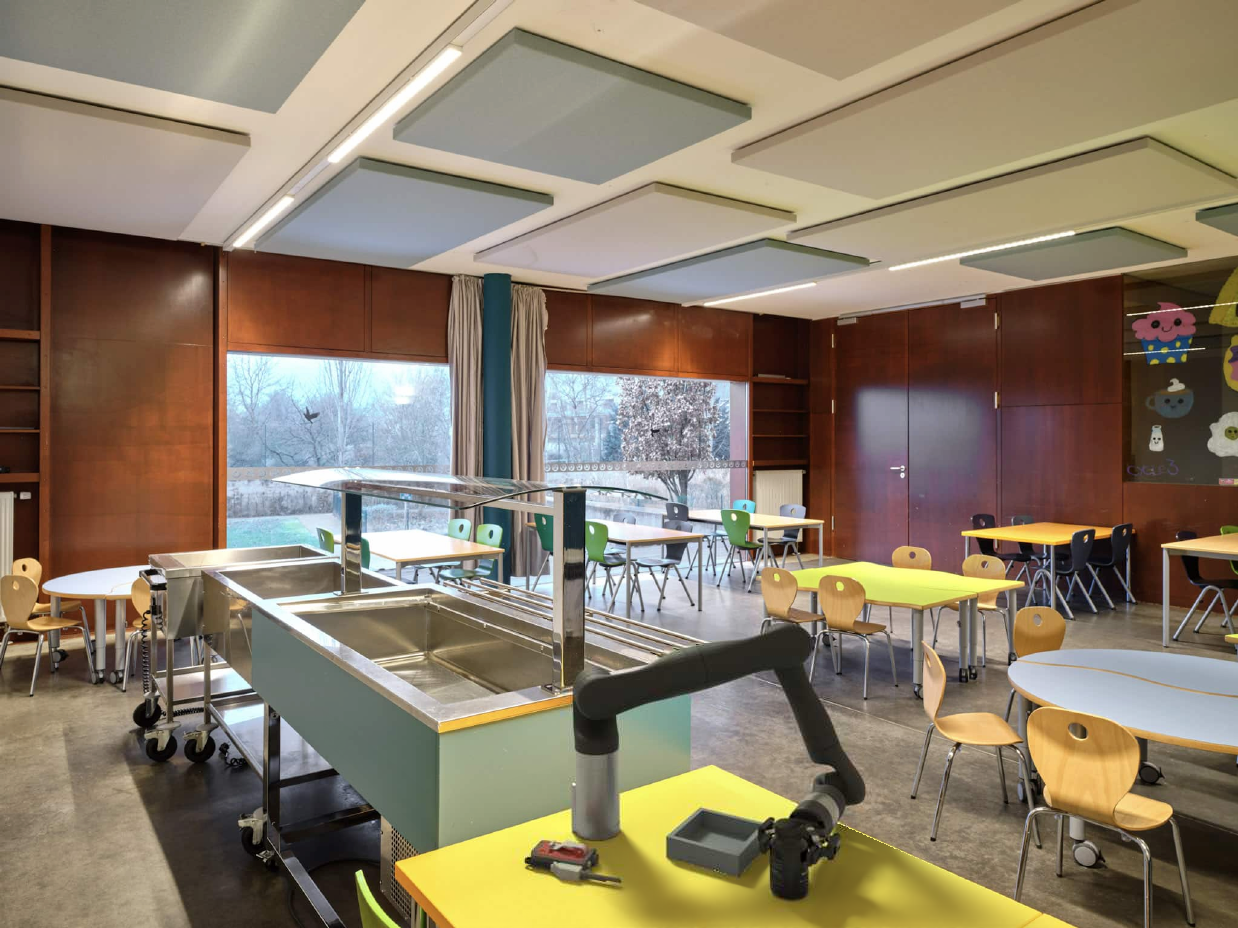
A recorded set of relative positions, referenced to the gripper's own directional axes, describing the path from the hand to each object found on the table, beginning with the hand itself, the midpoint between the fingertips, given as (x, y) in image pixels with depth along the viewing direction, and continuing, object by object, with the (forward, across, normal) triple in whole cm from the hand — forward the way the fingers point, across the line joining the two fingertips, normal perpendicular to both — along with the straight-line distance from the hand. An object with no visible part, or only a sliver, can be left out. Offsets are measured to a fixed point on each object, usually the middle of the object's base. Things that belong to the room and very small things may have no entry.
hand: (785, 855), depth 139 cm
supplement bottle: (-2, 0, +7) cm, 8 cm away
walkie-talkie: (+11, -37, +8) cm, 39 cm away
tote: (-9, -17, +7) cm, 21 cm away
